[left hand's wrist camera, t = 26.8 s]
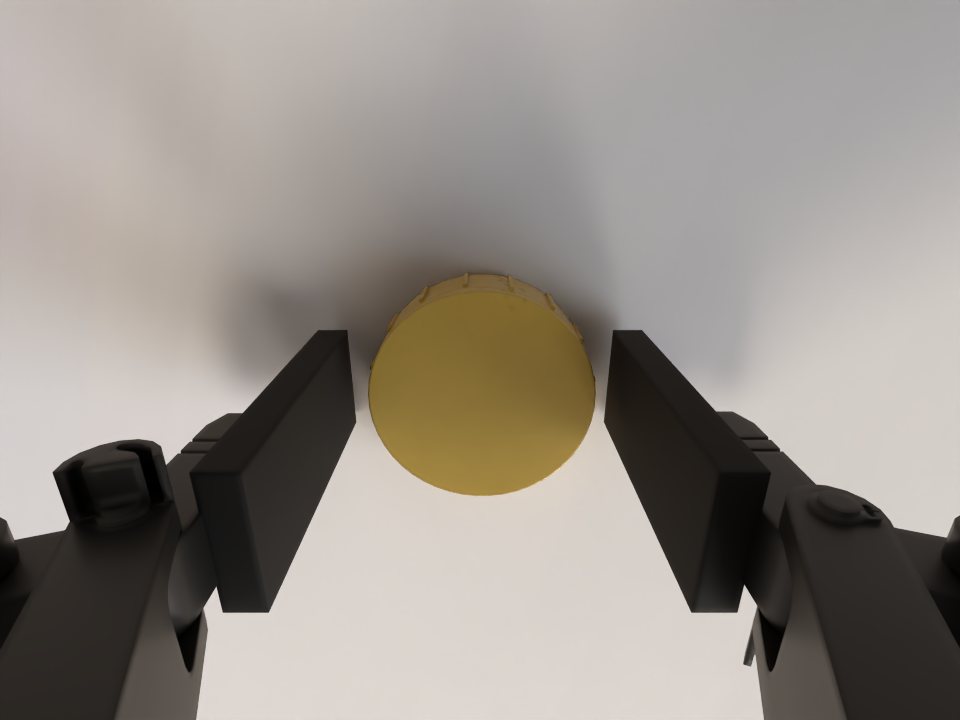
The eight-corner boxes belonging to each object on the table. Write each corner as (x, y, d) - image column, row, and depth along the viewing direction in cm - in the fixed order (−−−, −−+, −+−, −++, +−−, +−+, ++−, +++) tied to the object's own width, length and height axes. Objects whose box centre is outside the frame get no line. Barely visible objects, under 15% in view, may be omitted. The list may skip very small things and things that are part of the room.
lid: (597, 278, 14) (613, 296, 12) (570, 464, 16) (581, 503, 14) (379, 266, 13) (363, 282, 12) (381, 454, 16) (369, 491, 14)
